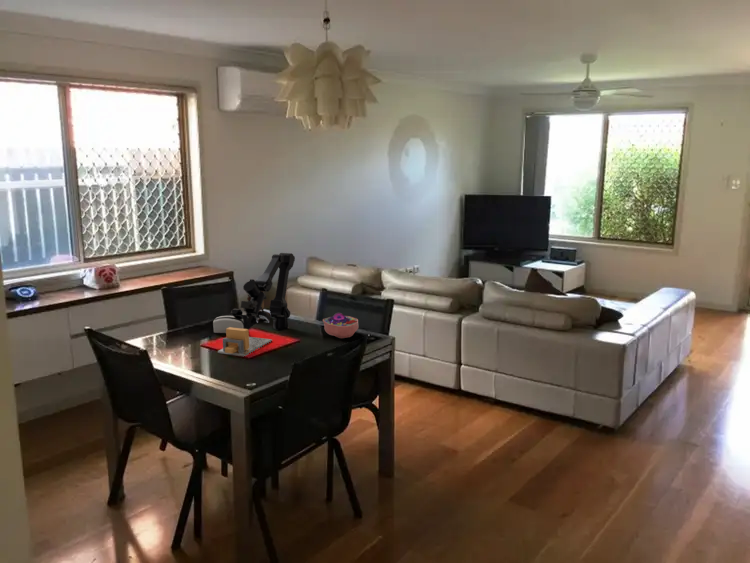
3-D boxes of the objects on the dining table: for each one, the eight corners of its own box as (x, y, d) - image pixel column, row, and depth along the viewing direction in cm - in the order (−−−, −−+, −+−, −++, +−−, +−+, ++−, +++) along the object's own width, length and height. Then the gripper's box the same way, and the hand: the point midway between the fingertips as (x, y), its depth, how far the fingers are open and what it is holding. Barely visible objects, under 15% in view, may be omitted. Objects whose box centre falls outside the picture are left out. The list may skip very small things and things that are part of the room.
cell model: (328, 344, 302) (328, 321, 300) (320, 332, 321) (319, 310, 318) (363, 341, 307) (362, 318, 304) (352, 329, 325) (352, 308, 323)
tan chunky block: (230, 345, 296) (229, 327, 294) (249, 348, 292) (248, 329, 290) (219, 351, 287) (218, 332, 286) (238, 354, 284) (237, 334, 282)
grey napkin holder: (248, 331, 324) (245, 314, 319) (245, 336, 320) (242, 320, 315) (217, 329, 327) (213, 313, 322) (214, 335, 323) (210, 319, 318)
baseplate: (247, 338, 312) (246, 325, 310) (272, 341, 307) (271, 327, 305) (218, 353, 290) (217, 338, 289) (244, 356, 285) (243, 342, 284)
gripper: (231, 292, 301) (219, 320, 293) (266, 295, 294) (254, 324, 287) (241, 304, 310) (230, 332, 302) (275, 307, 303) (264, 336, 296)
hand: (244, 331), depth 296 cm, fingers closed
